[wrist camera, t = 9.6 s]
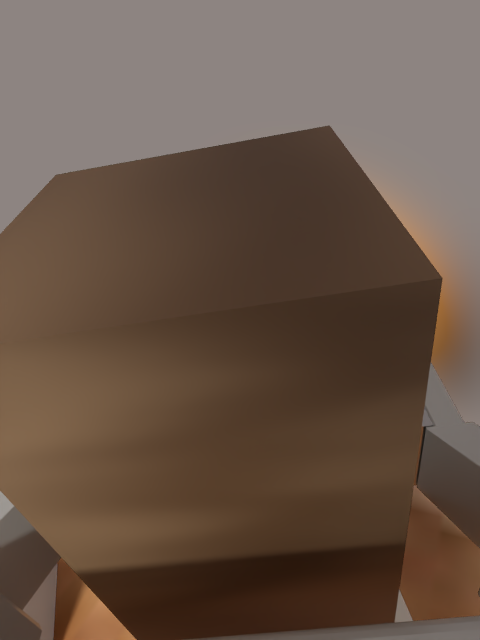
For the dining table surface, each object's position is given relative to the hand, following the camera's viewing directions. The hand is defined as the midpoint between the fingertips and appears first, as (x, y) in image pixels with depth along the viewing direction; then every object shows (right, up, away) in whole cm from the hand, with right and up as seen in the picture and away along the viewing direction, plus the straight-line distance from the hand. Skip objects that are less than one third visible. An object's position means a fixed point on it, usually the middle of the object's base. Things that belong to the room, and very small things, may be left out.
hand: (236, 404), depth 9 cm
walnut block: (+1, -6, +3) cm, 7 cm away
